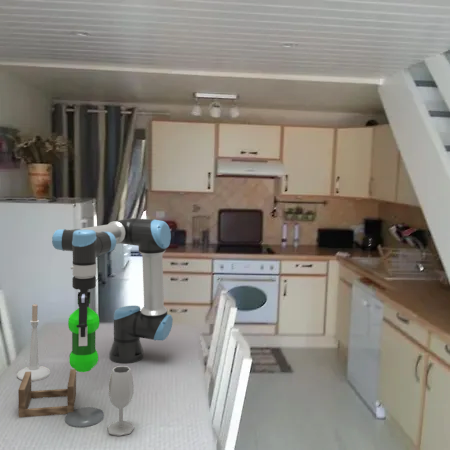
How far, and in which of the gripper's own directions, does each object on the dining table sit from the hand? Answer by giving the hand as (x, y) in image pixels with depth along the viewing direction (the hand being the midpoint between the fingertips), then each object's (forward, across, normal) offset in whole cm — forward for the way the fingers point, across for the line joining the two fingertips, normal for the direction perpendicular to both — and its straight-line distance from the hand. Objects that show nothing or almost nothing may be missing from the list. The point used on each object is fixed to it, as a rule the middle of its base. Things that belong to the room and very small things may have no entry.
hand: (84, 339), depth 169 cm
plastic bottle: (+11, 0, 0) cm, 11 cm away
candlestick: (+28, -39, -22) cm, 53 cm away
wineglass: (+28, +10, +12) cm, 32 cm away
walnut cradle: (+28, -11, -13) cm, 32 cm away
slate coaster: (+28, 0, 0) cm, 28 cm away
